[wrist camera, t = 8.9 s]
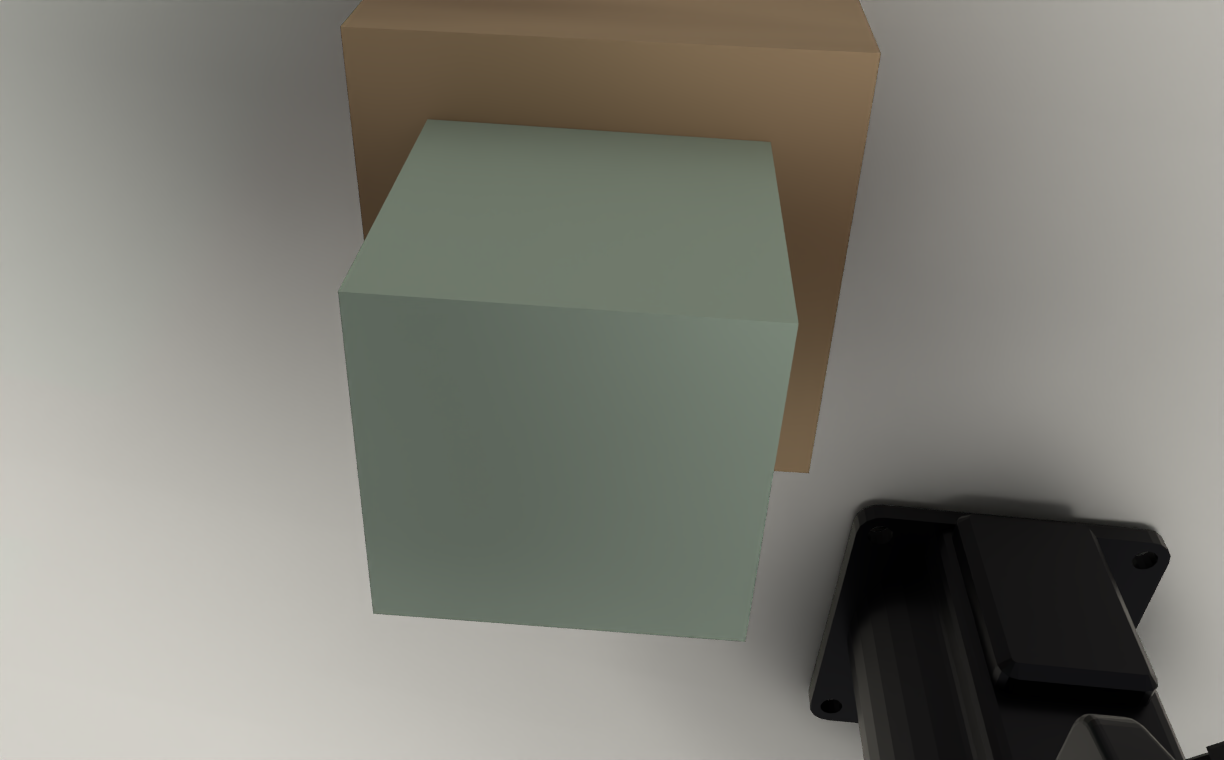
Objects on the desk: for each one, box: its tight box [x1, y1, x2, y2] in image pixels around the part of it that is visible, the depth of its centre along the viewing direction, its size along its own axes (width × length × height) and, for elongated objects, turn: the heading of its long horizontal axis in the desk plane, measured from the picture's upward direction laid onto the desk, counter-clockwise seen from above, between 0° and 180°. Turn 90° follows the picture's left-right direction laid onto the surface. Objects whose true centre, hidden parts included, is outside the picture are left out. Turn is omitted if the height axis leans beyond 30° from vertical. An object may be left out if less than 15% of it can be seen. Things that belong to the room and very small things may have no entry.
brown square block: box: [340, 0, 881, 473], centre depth 15 cm, size 6×6×3 cm
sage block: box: [338, 119, 799, 642], centre depth 12 cm, size 4×4×4 cm
